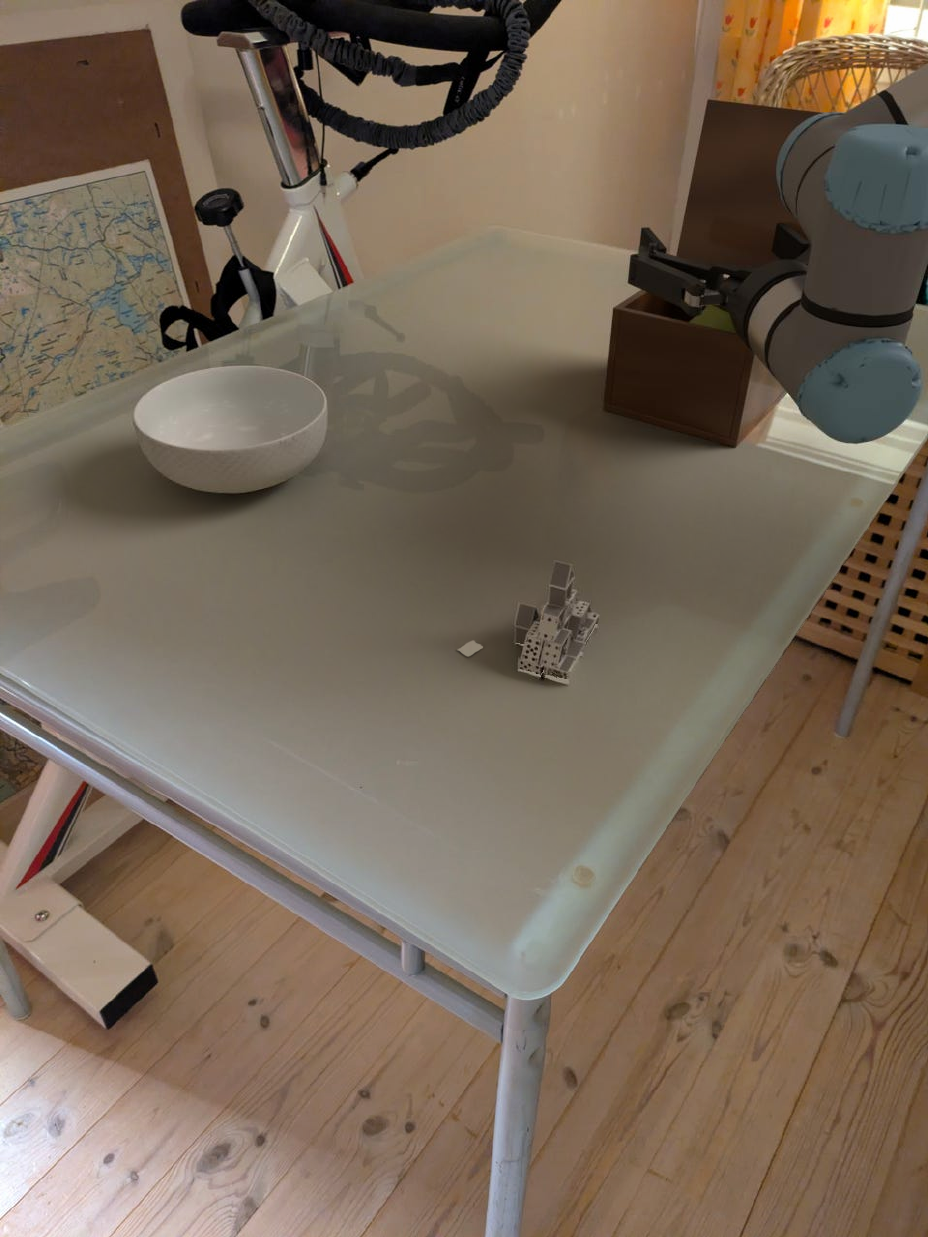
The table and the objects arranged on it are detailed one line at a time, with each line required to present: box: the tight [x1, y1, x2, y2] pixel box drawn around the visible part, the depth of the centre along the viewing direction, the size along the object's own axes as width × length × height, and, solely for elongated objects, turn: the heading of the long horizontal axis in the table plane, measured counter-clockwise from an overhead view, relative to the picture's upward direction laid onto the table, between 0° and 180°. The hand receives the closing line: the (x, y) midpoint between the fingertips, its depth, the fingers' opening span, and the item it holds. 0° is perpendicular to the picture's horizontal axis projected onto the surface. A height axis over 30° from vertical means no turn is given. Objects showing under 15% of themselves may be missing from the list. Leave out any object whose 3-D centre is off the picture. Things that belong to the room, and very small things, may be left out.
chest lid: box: [675, 98, 823, 268], centre depth 95 cm, size 15×15×1 cm
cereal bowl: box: [132, 365, 329, 494], centre depth 87 cm, size 17×17×7 cm
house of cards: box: [513, 559, 600, 680], centre depth 68 cm, size 9×9×8 cm
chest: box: [602, 276, 788, 448], centre depth 97 cm, size 15×15×11 cm
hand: (710, 239), depth 93 cm, fingers open, 13 cm apart
